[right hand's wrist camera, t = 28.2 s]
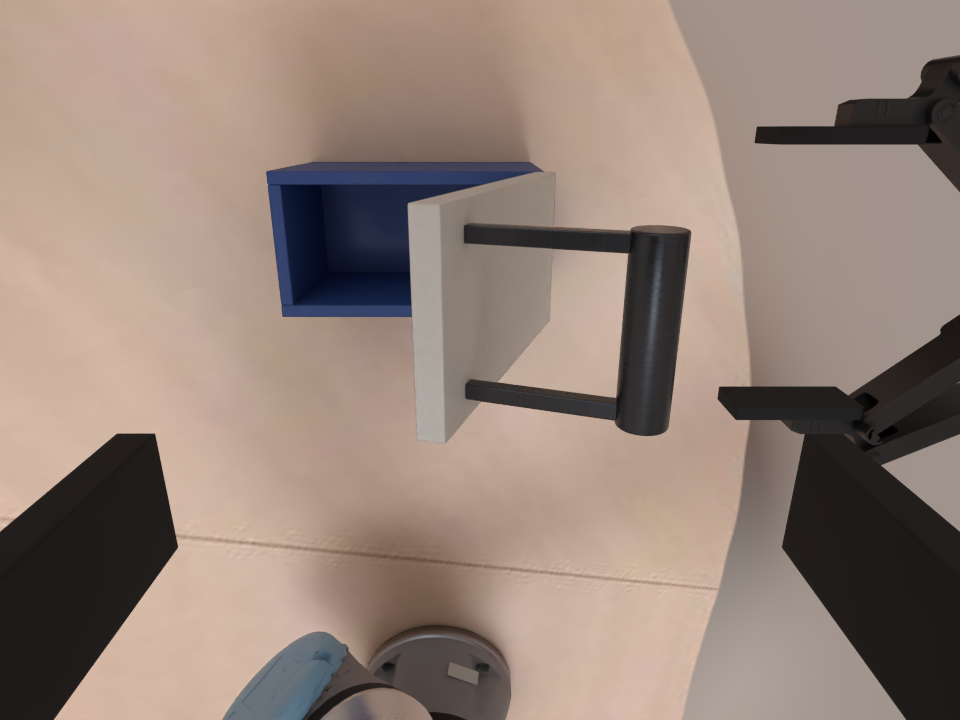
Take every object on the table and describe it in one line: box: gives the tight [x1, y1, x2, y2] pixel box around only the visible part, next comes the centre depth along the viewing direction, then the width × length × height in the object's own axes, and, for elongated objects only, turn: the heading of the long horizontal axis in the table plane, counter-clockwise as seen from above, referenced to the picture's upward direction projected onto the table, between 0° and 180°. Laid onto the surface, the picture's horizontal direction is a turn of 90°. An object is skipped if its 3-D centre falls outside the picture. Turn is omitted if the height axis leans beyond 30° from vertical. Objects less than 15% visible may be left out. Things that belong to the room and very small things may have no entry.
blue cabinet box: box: [266, 162, 544, 317], centre depth 44 cm, size 17×9×11 cm, turn 90°
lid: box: [408, 172, 691, 444], centre depth 30 cm, size 18×9×9 cm
